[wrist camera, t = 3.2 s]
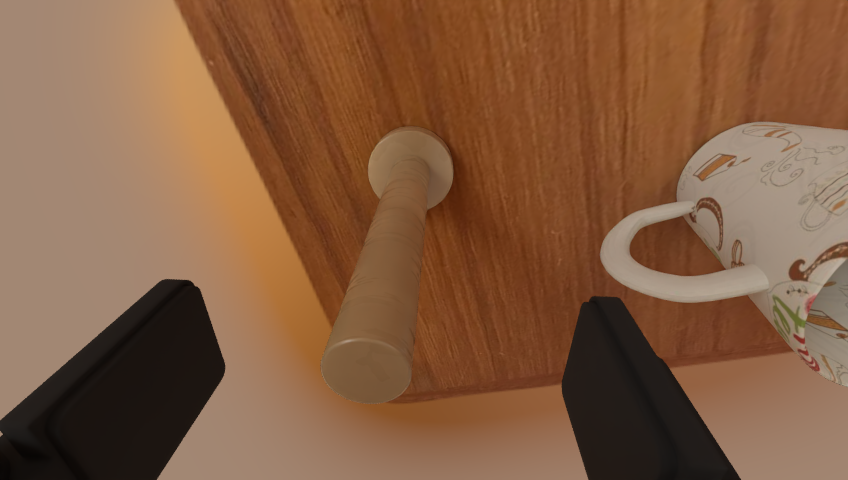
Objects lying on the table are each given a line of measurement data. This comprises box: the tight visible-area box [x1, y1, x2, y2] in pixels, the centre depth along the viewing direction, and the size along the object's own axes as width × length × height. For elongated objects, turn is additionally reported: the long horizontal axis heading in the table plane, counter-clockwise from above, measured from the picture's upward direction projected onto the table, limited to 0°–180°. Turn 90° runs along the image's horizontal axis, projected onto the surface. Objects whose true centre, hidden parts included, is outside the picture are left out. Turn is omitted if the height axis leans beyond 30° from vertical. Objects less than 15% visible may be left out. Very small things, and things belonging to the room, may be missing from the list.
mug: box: [600, 122, 848, 387], centre depth 16 cm, size 8×13×10 cm, turn 109°
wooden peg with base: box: [321, 126, 454, 404], centre depth 14 cm, size 4×4×14 cm
